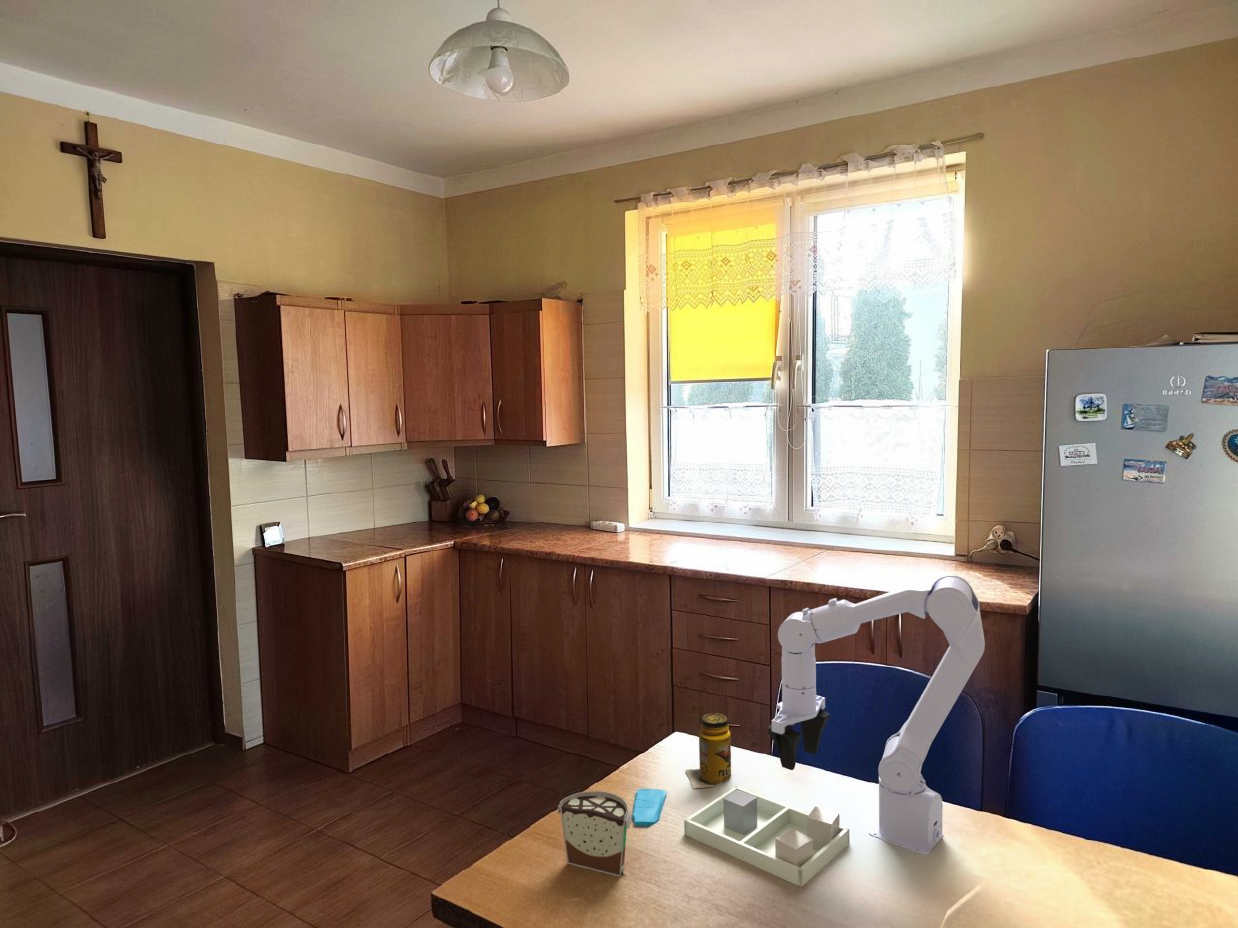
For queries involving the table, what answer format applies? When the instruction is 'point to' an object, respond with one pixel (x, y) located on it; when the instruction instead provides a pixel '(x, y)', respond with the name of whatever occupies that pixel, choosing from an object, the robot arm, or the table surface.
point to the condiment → (712, 752)
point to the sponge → (648, 806)
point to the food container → (595, 830)
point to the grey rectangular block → (740, 812)
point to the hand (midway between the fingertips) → (799, 759)
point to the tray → (762, 837)
